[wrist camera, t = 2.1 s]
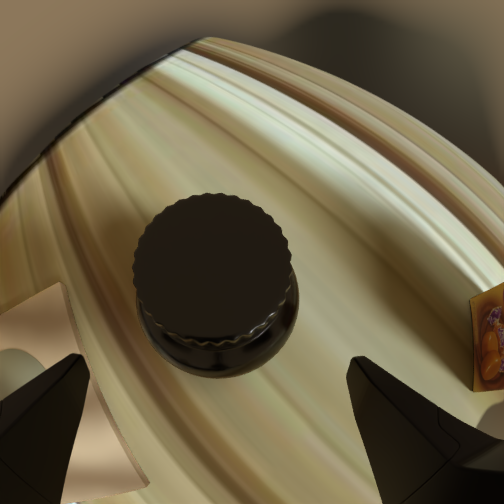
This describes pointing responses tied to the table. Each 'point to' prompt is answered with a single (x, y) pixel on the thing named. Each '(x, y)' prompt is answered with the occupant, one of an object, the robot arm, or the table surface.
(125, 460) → the board
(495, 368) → the candy box
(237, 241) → the supplement bottle
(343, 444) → the table surface
